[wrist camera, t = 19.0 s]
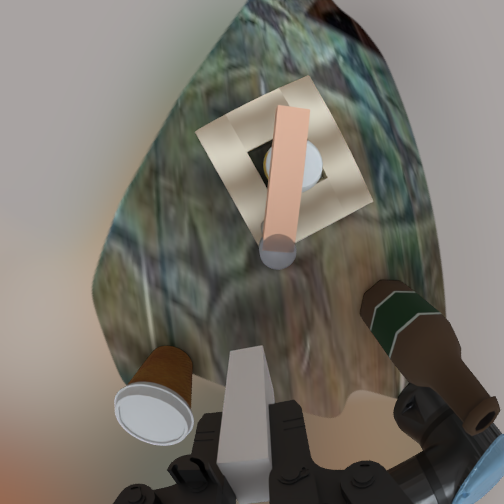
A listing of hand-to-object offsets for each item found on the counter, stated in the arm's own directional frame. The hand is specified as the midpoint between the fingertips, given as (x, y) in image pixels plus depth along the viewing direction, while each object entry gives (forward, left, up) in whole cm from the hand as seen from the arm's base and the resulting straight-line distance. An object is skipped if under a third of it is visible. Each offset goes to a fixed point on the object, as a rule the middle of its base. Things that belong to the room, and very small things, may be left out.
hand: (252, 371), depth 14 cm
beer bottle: (-16, -12, -24) cm, 31 cm away
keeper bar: (+5, -6, -13) cm, 15 cm away
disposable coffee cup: (-10, +18, -24) cm, 31 cm away
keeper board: (+7, -8, -24) cm, 26 cm away
